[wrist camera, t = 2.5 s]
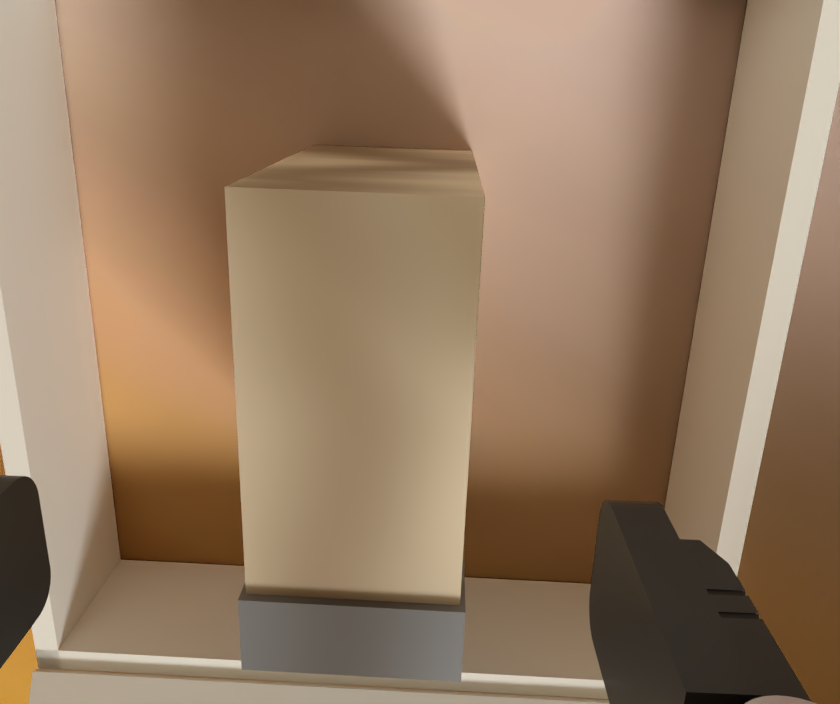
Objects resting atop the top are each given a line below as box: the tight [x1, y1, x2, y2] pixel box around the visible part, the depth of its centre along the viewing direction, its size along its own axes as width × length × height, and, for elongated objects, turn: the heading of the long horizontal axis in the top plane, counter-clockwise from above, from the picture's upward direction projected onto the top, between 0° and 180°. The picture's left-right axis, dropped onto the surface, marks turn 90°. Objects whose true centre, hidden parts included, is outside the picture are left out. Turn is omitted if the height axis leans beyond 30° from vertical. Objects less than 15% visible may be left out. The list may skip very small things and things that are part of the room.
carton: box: [0, 0, 840, 704], centre depth 17 cm, size 18×27×7 cm, turn 178°
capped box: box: [224, 145, 485, 682], centre depth 17 cm, size 4×9×8 cm, turn 178°
